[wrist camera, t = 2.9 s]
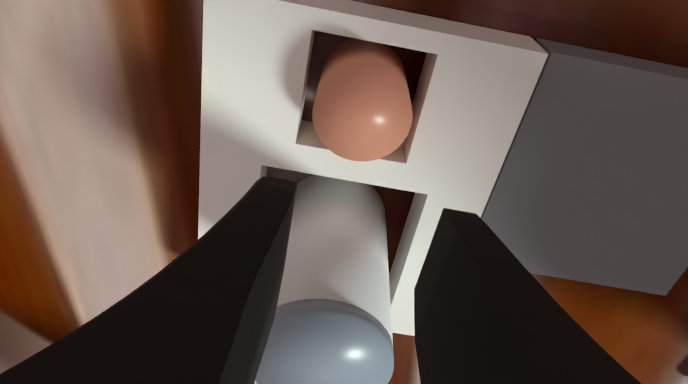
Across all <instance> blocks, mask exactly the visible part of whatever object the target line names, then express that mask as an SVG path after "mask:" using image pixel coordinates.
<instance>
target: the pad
mask: <svg viewBox="0 0 688 384" xmlns="http://www.w3.org/2000/svg"><path fill="white" fill-rule="evenodd" d="M535 42H536V43H537V44H538V45H540V46H541V47H542V48H543V49H544V50H545V51H546V52H547V53H548V56H547V59H546V61H545V63H544V66H543V68H542V71H541V73H540V76H539V78H538V80H537V83H536V85H535V88H534V90H533V92H532V95H531V97H530V100H529V102H528V104H527V107H526V109H525V112H524V114H523V116H522V119H521V121H520V124H519V126H518V128H517V131H516V133H515V136H514V138H513V140H512V143H511V145H510V148H509V150H508V152H507V155H506V157H505V160H504V162H503V164H502V167H501V169H500V172H499V174H498V177H497V179H496V181H495V184H494V186H493V189H492V191H491V193H490V196H489V198H488V201H487V203H486V205H485V208H484V210H483V213H482V215H481V217H480V218H481V219H482V220H483V221H484V222H485V223H486V224H487V225H488V226H489V227H490V228H491V230H492V231H493V232H494V233H495V234H496V235H497V236H498V237H499V239H500V240H501V241H502V242H503V243H504V244H505V245H506V247H507V248H508V249H509V250H510V251H511V252H512V253H513V255H514V256H515V257H516V258H517V259H518V260H519V261H520V263H521V264H522V265H523V266H524V267H525V268H526V269H527V270H528V272H529V273H533V274H538V275H544V276H550V277H556V278H562V279H568V280H574V281H580V282H586V283H592V284H598V285H604V286H610V287H616V288H622V289H628V290H633V291H639V292H645V293H651V294H657V295H663V296H666V295H667V293H668V292H669V291H670V289H671V288H672V287H673V285H674V284H675V283H676V281H677V280H678V279H679V278H680V276H681V275H682V274H683V272H684V271H685V270H686V268H687V267H688V68H684V67H679V66H674V65H669V64H664V63H659V62H654V61H649V60H644V59H639V58H634V57H629V56H625V55H620V54H615V53H610V52H605V51H600V50H595V49H590V48H585V47H580V46H575V45H570V44H565V43H560V42H555V41H550V40H545V39H540V38H536V40H535Z"/></svg>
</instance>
